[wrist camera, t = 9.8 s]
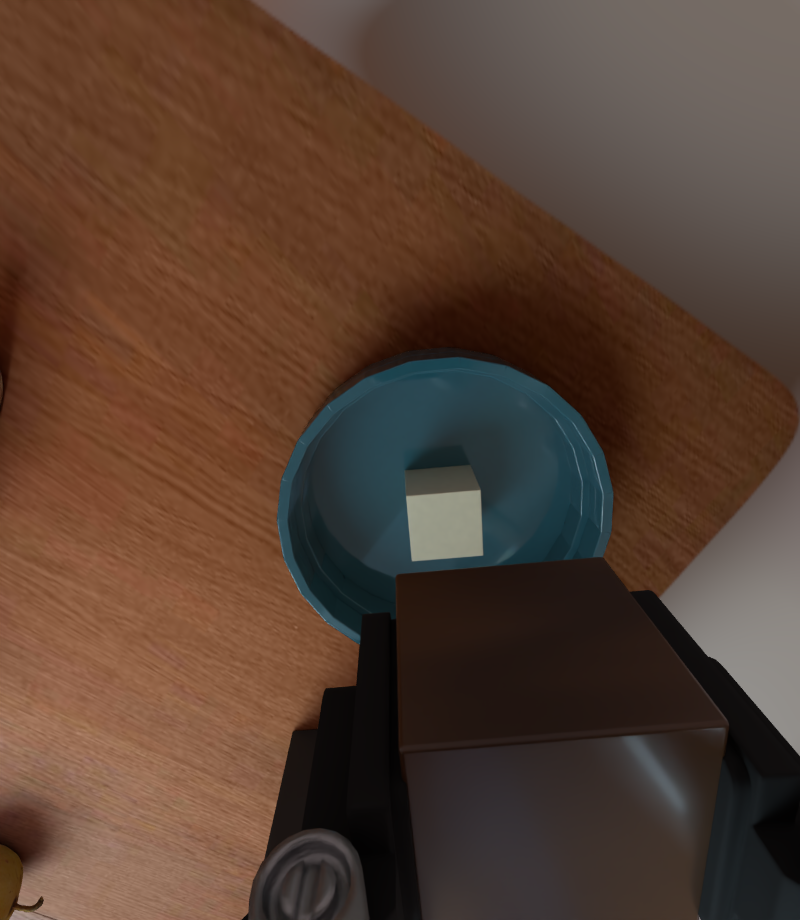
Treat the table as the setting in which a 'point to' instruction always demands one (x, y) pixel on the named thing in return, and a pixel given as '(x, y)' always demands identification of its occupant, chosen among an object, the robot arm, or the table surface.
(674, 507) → the table surface
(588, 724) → the walnut block
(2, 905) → the fruit
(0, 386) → the tin
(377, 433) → the bowl
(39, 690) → the table surface
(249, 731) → the table surface
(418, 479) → the cream block
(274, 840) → the stand
